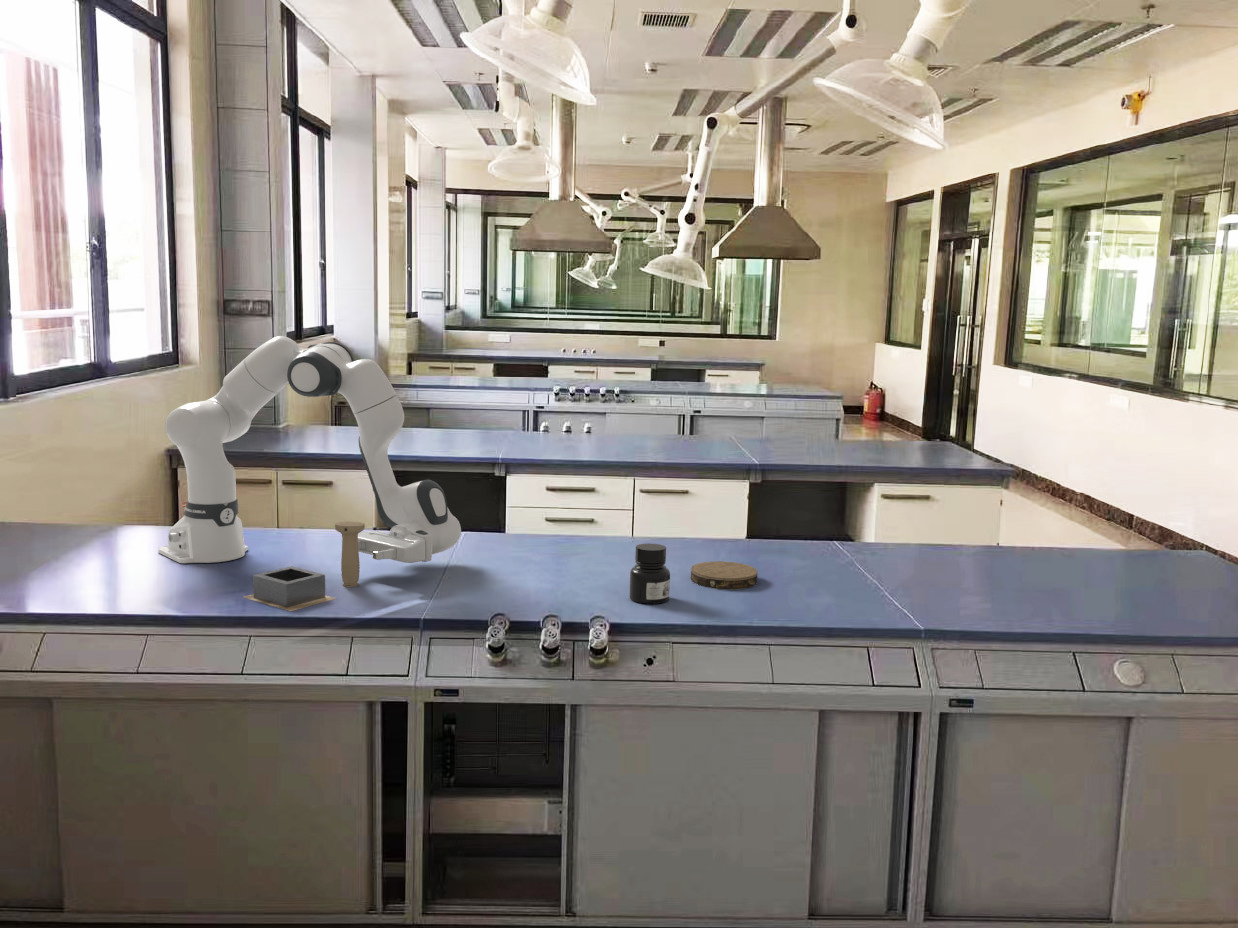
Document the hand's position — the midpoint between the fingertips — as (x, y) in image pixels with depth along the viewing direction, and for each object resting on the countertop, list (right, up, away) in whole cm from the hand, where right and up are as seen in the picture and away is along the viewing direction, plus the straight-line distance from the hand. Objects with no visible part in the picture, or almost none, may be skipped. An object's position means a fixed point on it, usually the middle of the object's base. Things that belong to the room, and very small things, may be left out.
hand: (360, 552), depth 237 cm
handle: (-2, -8, -1) cm, 9 cm away
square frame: (-12, -9, -13) cm, 19 cm away
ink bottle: (+65, -10, -3) cm, 66 cm away
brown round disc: (+84, -8, +15) cm, 85 cm away
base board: (-12, -10, -12) cm, 20 cm away
